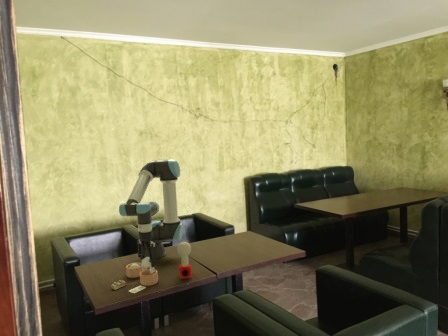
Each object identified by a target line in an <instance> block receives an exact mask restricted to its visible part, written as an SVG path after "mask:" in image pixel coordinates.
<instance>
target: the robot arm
mask: <svg viewBox="0 0 448 336" xmlns="http://www.w3.org/2000/svg"><path fill="white" fill-rule="evenodd" d="M180 176H181V169H180V165H179V162H178V161H177V160H176V159H170V158H169V159H156V160H155V159H154V160H152V161H149V162H147V163H146V164H145V165H144V166H142V168H141V169H140V171H139V172H138V178H137V180H136V183H135V185H134V186H133V188H132V191H131V192H130V195H129V196H128V199H127V200H126V203H125V202H123V203H121V204H119V208H118V213H119V215H120V216H121V217H127V218H128V217H136V219H137V230H138V240H136V244H137V257H138V258H139V259H140V261H141V262H140V263H141V264H142V261H143V259H144V258H146V257H149V258H150V261H149V265H150V268H149V269H150V273H153V272H155V270H156V269H155V267H156V266H155V265H156V264H155V261H157V260H158V259H160V258H163V257H165V256H166V249H165V246H164V243H163V241H165V242H167V241H172V242H175V241H180V240H182V238H183V235H184V230H185V228H184V227H185V226H184V223H183V222H181V219H180V218H179V216H178V199H177V184H176V182H177V181H178V179H179V177H180ZM156 178H159V181H160V183H162V195H163V208H164V209H163V212H164V218H163V220H162V221H161V220H152V217H153V216H155V215H157V214H158V213H159V211H160V205H159V204H158V202H156V201H149V202H148V201H143V202H142V200H143V198H144V195H145V193H146V191H147V189H148V187H149V184H150V183H151V182H152V181H153V180H154V179H156ZM145 270H148V268H145V267H144V266H143V265H142V271H145Z"/></svg>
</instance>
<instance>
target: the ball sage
mask: <svg viewBox="0 0 448 336" xmlns="http://www.w3.org/2000/svg"><path fill="white" fill-rule="evenodd" d="M137 267H140V266H139V265H138V264H132V265H131V266H130V268H137Z"/></svg>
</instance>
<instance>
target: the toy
mask: <svg viewBox="0 0 448 336" xmlns="http://www.w3.org/2000/svg"><path fill="white" fill-rule="evenodd" d="M176 252H177V254H178V255H179V256H181V257H180V259H181V261H180V262H181V263H180V264H179V279H191V278H192V273H193V272H192V271H193V270H192V263H190V262H189V255H190V253H192V246H191V244H190V243H189V242H187V241H182V242H180V243H179V244H178V245H177V249H176Z"/></svg>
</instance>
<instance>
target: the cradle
mask: <svg viewBox="0 0 448 336" xmlns="http://www.w3.org/2000/svg"><path fill="white" fill-rule="evenodd" d="M126 285H127V282H126V281H125V280H120V279H119V280H118V281H117V282H115V281H114V282H113V284H111V289H112V290H118V289H121V288H122V287H125V286H126Z"/></svg>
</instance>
